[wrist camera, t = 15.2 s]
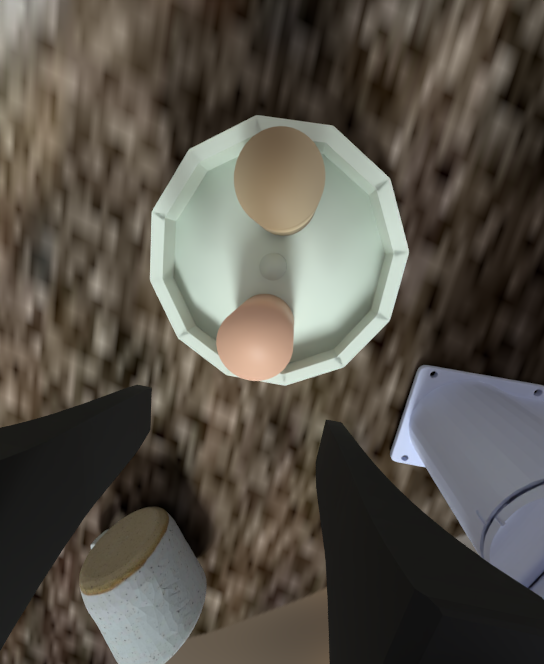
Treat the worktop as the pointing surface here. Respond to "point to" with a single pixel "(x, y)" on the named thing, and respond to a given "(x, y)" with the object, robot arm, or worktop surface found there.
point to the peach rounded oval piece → (257, 338)
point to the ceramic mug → (143, 587)
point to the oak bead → (280, 179)
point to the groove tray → (279, 252)
